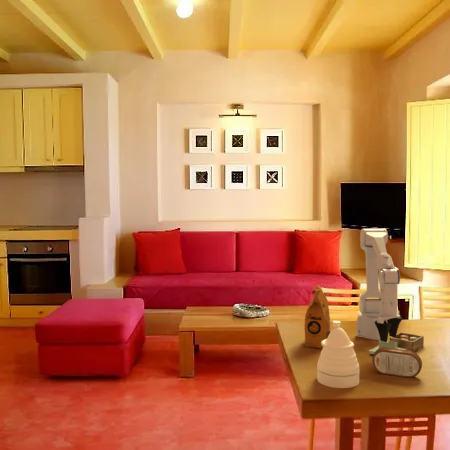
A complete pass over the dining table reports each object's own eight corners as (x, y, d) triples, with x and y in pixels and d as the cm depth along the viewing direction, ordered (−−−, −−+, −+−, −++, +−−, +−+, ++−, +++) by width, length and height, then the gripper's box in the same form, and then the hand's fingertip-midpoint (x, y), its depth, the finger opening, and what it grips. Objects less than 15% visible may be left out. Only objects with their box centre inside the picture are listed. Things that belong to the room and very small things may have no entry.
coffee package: (300, 347, 191) (300, 289, 190) (308, 338, 202) (308, 284, 201) (326, 350, 187) (327, 291, 186) (332, 341, 198) (333, 285, 197)
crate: (389, 348, 189) (389, 337, 189) (400, 342, 196) (400, 332, 196) (413, 352, 183) (413, 342, 183) (423, 346, 190) (423, 336, 190)
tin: (422, 377, 159) (422, 351, 158) (421, 380, 156) (421, 353, 155) (373, 370, 165) (373, 345, 165) (371, 373, 162) (371, 347, 162)
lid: (368, 355, 181) (369, 342, 181) (381, 348, 189) (381, 336, 189) (394, 361, 175) (395, 347, 175) (406, 353, 183) (406, 340, 183)
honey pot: (312, 373, 162) (312, 318, 161) (351, 372, 163) (352, 317, 162) (323, 388, 150) (323, 329, 149) (365, 387, 150) (365, 328, 149)
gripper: (391, 307, 173) (390, 345, 174) (407, 300, 184) (407, 336, 184) (371, 304, 177) (371, 341, 178) (389, 297, 188) (388, 333, 189)
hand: (388, 338), depth 182 cm, fingers open, 7 cm apart
